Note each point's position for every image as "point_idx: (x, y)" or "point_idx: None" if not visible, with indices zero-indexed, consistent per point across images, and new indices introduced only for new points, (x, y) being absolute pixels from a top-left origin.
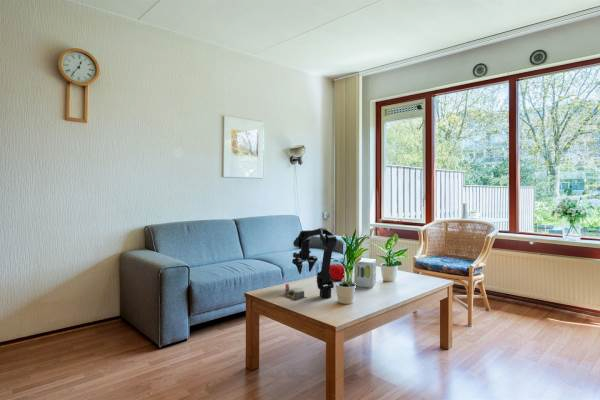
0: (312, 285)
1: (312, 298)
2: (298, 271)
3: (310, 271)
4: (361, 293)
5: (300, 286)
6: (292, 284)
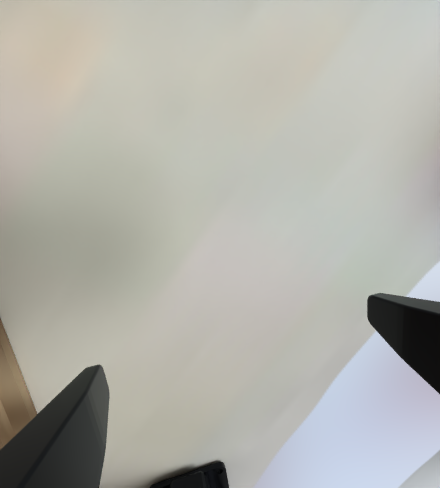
0: (330, 189)
1: (105, 478)
2: (46, 409)
3: (379, 325)
4: (422, 475)
5: (220, 150)
6: (192, 24)
